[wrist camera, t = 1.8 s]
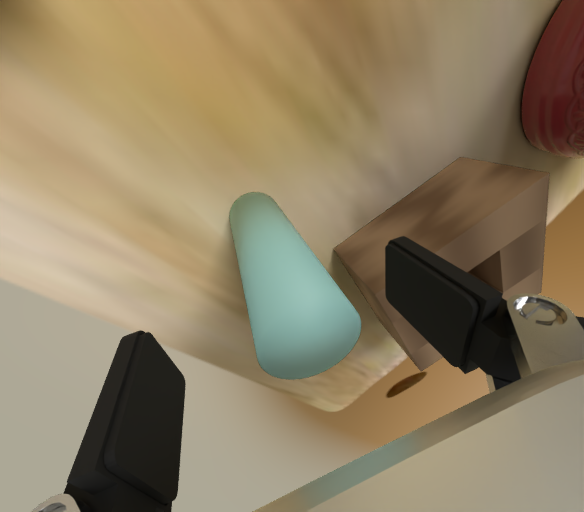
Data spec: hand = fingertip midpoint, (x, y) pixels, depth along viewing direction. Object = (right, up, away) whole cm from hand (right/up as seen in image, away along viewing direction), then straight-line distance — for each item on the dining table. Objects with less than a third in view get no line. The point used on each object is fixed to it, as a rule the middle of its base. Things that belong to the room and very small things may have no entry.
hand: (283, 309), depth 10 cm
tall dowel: (-2, +5, +7) cm, 9 cm away
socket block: (+12, +2, +13) cm, 18 cm away
